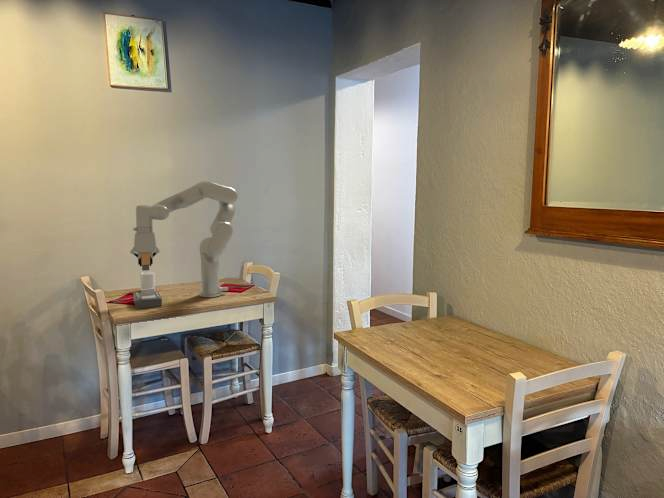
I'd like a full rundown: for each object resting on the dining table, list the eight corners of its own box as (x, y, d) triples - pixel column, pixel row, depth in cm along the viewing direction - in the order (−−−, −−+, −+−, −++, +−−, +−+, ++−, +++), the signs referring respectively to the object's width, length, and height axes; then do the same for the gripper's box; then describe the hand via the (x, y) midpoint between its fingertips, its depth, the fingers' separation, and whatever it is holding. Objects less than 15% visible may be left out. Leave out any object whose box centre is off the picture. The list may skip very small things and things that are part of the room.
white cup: (158, 289, 274) (157, 272, 272) (151, 292, 266) (151, 274, 264) (145, 288, 274) (144, 271, 273) (138, 291, 267) (137, 274, 265)
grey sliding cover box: (158, 298, 254) (157, 290, 253) (161, 306, 240) (161, 297, 239) (133, 300, 249) (133, 291, 248) (136, 308, 234) (135, 299, 234)
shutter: (154, 295, 243) (154, 288, 242) (156, 298, 237) (155, 291, 236) (140, 296, 240) (140, 289, 239) (141, 299, 234) (141, 292, 234)
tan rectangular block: (150, 270, 243) (149, 252, 242) (141, 270, 241) (141, 253, 240) (149, 268, 247) (148, 251, 245) (141, 269, 245) (140, 251, 244)
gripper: (126, 231, 234) (128, 268, 237) (163, 230, 241) (163, 266, 244) (126, 229, 241) (127, 265, 243) (161, 228, 248) (161, 263, 251)
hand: (145, 265), depth 244 cm, fingers closed on tan rectangular block, 4 cm apart
